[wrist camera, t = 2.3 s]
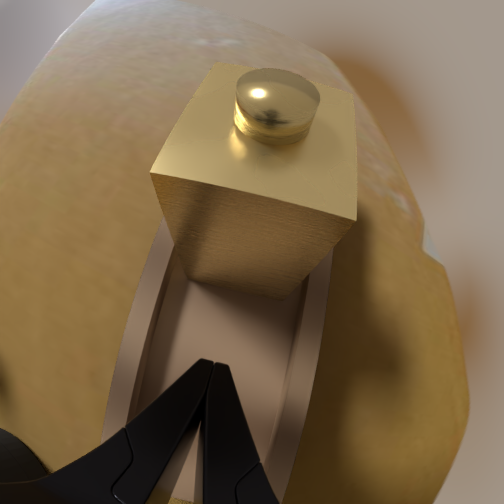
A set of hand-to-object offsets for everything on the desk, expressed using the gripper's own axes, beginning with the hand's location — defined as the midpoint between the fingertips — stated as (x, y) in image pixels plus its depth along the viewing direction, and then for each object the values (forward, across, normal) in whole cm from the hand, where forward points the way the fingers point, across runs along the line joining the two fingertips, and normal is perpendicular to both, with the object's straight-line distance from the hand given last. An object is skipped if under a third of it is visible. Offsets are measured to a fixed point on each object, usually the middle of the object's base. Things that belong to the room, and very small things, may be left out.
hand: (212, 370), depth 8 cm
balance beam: (+9, 0, +3) cm, 9 cm away
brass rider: (+8, 0, -1) cm, 8 cm away
